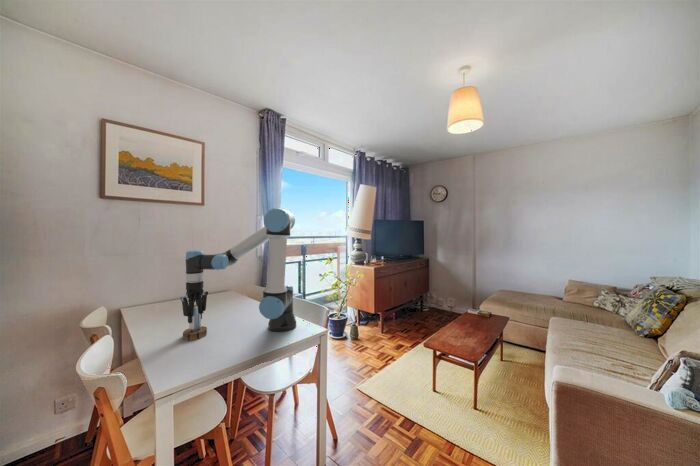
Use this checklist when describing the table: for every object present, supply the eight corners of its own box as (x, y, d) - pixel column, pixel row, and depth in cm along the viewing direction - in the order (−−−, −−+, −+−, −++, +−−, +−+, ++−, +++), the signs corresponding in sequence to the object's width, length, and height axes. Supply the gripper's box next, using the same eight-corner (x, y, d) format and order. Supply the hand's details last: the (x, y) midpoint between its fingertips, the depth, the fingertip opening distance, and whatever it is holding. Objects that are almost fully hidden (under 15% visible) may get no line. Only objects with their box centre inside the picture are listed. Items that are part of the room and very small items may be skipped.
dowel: (199, 334, 126) (199, 304, 126) (194, 336, 123) (194, 306, 123) (195, 333, 127) (195, 303, 127) (190, 335, 124) (190, 305, 124)
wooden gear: (211, 333, 128) (211, 327, 128) (192, 341, 118) (192, 335, 118) (197, 330, 132) (197, 325, 131) (178, 338, 122) (178, 332, 122)
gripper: (203, 277, 133) (204, 321, 134) (173, 283, 119) (174, 332, 119) (214, 278, 131) (214, 323, 131) (184, 285, 116) (184, 334, 116)
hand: (195, 327), depth 125 cm, fingers closed on dowel, 3 cm apart
